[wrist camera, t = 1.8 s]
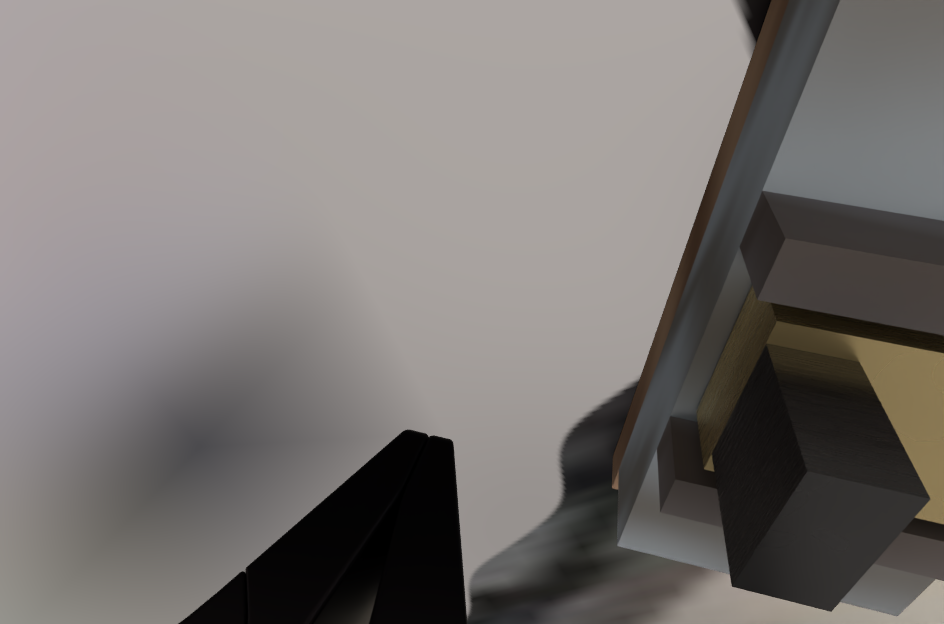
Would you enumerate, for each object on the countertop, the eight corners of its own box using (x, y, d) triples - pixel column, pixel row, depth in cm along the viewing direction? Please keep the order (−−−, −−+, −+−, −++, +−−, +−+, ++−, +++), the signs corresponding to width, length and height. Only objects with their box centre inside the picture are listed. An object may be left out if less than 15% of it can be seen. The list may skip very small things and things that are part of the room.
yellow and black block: (964, 470, 13) (1104, 700, 9) (696, 411, 14) (721, 601, 10) (1088, 331, 11) (1344, 561, 7) (758, 270, 12) (823, 446, 8)
